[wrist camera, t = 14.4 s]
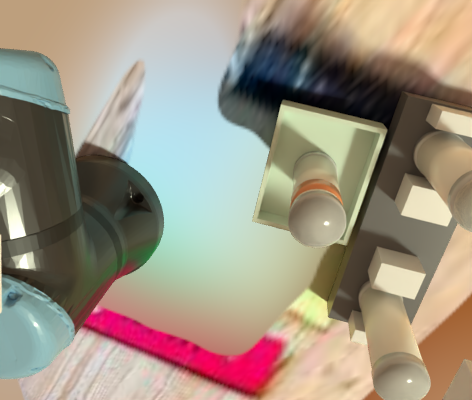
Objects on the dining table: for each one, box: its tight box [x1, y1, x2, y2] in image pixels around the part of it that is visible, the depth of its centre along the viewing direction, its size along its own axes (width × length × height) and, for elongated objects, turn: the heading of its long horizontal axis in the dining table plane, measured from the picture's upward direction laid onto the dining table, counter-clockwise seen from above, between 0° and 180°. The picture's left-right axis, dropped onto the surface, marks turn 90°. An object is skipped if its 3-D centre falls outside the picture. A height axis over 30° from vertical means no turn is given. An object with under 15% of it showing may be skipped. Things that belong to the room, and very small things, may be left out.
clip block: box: [327, 91, 472, 346], centre depth 46 cm, size 9×26×6 cm, turn 168°
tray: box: [252, 100, 387, 246], centre depth 47 cm, size 10×13×3 cm
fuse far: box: [358, 280, 430, 400], centre depth 43 cm, size 5×5×13 cm
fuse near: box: [413, 129, 472, 232], centre depth 37 cm, size 5×5×13 cm
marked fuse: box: [288, 151, 346, 248], centre depth 41 cm, size 5×5×13 cm
